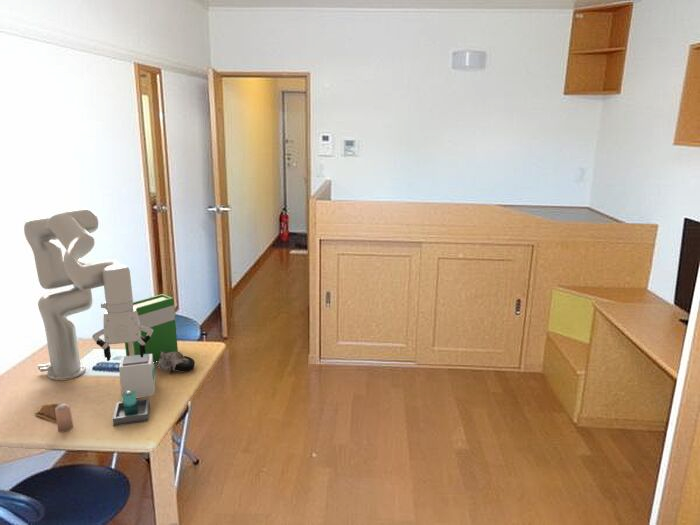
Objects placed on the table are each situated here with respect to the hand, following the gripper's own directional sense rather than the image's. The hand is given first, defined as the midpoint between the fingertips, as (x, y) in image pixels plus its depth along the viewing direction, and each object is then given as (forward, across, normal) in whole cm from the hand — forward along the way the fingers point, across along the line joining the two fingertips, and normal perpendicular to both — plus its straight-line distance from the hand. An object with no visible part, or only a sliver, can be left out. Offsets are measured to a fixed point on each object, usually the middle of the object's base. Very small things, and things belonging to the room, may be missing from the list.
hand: (125, 357), depth 163 cm
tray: (+20, 0, 0) cm, 20 cm away
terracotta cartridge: (+20, -19, -2) cm, 28 cm away
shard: (+21, -24, +8) cm, 33 cm away
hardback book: (+21, +4, +41) cm, 46 cm away
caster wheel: (+21, +14, +29) cm, 38 cm away
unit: (+20, +1, +15) cm, 25 cm away
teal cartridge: (+19, 0, 0) cm, 19 cm away
